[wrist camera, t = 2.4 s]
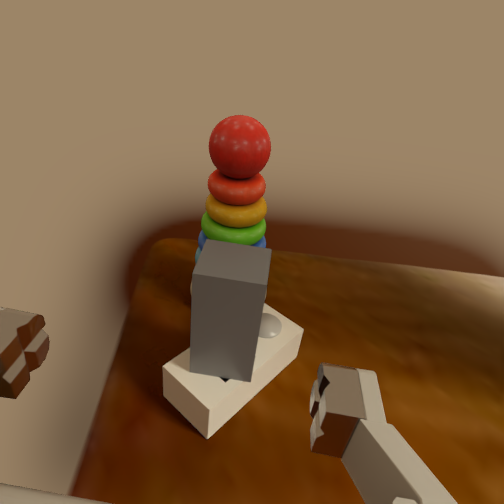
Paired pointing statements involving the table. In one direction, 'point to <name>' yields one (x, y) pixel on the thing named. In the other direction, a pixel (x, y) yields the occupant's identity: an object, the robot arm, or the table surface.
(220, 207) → the stacking toy
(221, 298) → the gray rectangular block
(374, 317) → the table surface
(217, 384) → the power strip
